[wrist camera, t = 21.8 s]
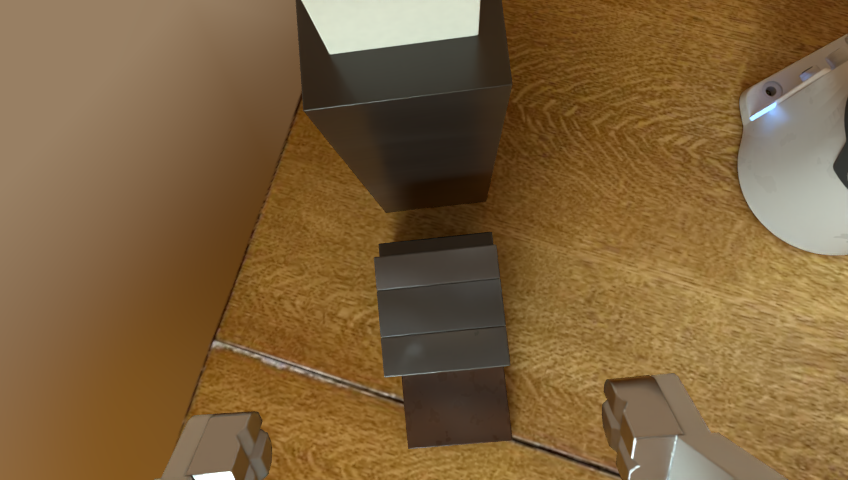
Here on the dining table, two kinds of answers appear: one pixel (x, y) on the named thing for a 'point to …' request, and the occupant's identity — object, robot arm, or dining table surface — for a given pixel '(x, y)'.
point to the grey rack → (445, 337)
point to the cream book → (391, 22)
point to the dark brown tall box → (413, 111)
